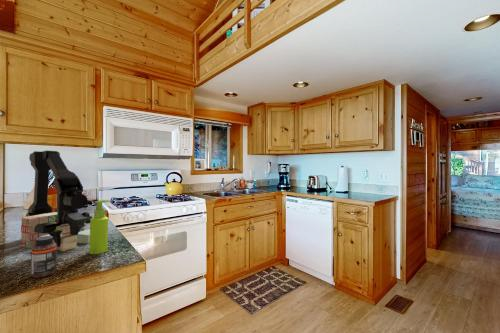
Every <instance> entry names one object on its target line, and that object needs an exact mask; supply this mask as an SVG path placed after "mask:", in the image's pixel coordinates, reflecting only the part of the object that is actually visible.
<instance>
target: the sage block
mask: <svg viewBox="0 0 500 333" xmlns="http://www.w3.org/2000/svg"><path fill="white" fill-rule="evenodd" d="M78 243H80V244H86V245H87V244H89V245H90V228H88V229H84V231H81V232H79V233H78V235H77V244H78Z"/></svg>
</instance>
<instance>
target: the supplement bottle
mask: <svg viewBox="0 0 500 333" xmlns="http://www.w3.org/2000/svg"><path fill="white" fill-rule="evenodd" d="M30 249H31V252H30V257H31V258H30V259H31V260H30V265H31V266H30V275H31V277H32V278H34V279H35V278H36V279H37V278H39V279H40V278H45V277H49V276H51V275H52V274H54V273H56V272H57V268H58V266H57V265H58V263H57V262H58V261H57V260H58V250H57V244H56V243H54V242H53V237H52V236H44V237H39V238H37V239H36V244H35V246H33V247H32V248H30Z"/></svg>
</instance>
